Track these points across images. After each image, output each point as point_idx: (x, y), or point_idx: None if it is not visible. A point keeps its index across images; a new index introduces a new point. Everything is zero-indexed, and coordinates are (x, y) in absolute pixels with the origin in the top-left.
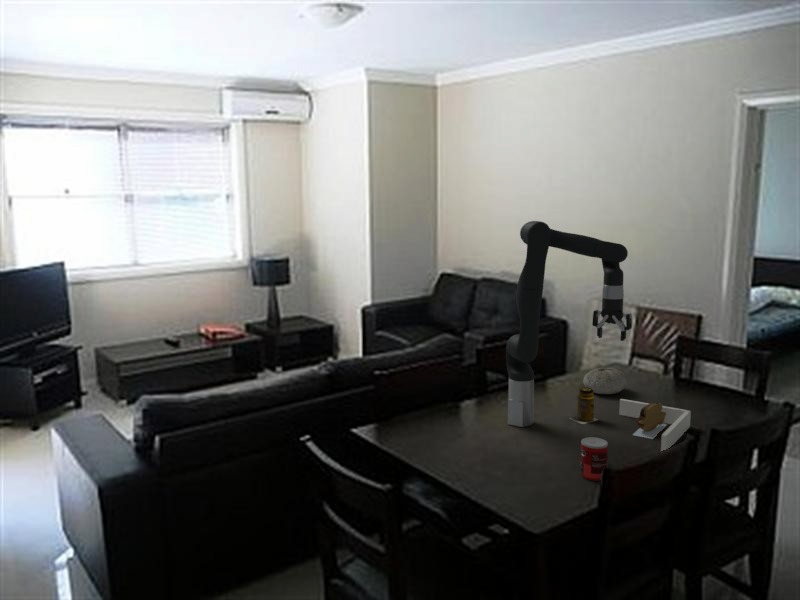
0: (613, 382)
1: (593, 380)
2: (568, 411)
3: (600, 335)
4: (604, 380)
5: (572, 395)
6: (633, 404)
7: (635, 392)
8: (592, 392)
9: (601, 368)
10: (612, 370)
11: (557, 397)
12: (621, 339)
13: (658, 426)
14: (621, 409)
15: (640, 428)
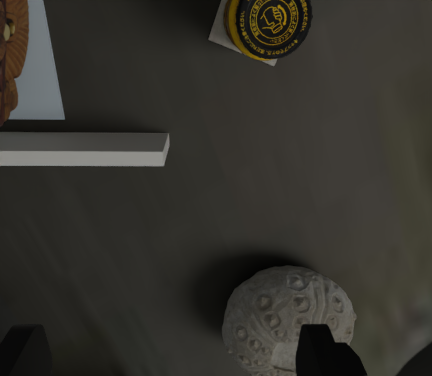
0: (249, 303)
1: (314, 291)
2: (333, 71)
3: (310, 353)
4: (277, 296)
5: (359, 229)
6: (110, 148)
7: (204, 329)
8: (236, 14)
9: None
10: (275, 366)
11: (401, 189)
12: (18, 333)
13: None
14: (159, 139)
15: (43, 24)
